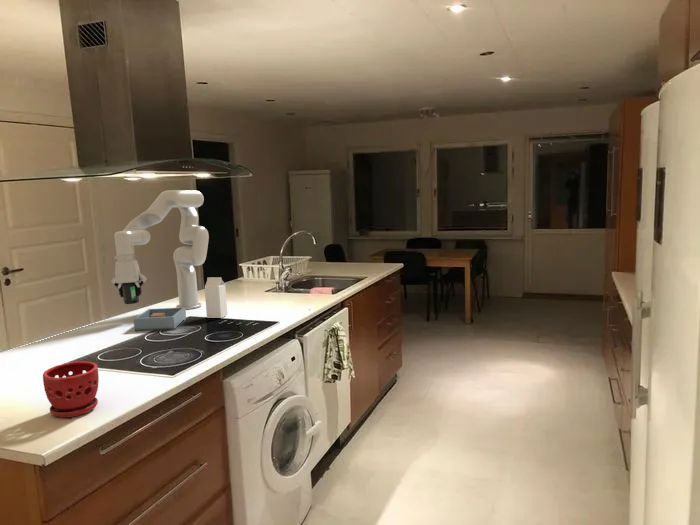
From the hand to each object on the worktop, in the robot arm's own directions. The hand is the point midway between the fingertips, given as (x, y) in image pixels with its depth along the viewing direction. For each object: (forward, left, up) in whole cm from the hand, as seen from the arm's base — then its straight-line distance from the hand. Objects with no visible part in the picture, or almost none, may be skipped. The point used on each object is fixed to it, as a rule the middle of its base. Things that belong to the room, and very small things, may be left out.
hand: (130, 295), depth 249 cm
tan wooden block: (+13, +15, -12) cm, 23 cm away
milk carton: (-1, +39, -13) cm, 41 cm away
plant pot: (+108, +22, -13) cm, 111 cm away
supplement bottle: (0, 0, -3) cm, 3 cm away
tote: (+9, +16, -12) cm, 22 cm away
